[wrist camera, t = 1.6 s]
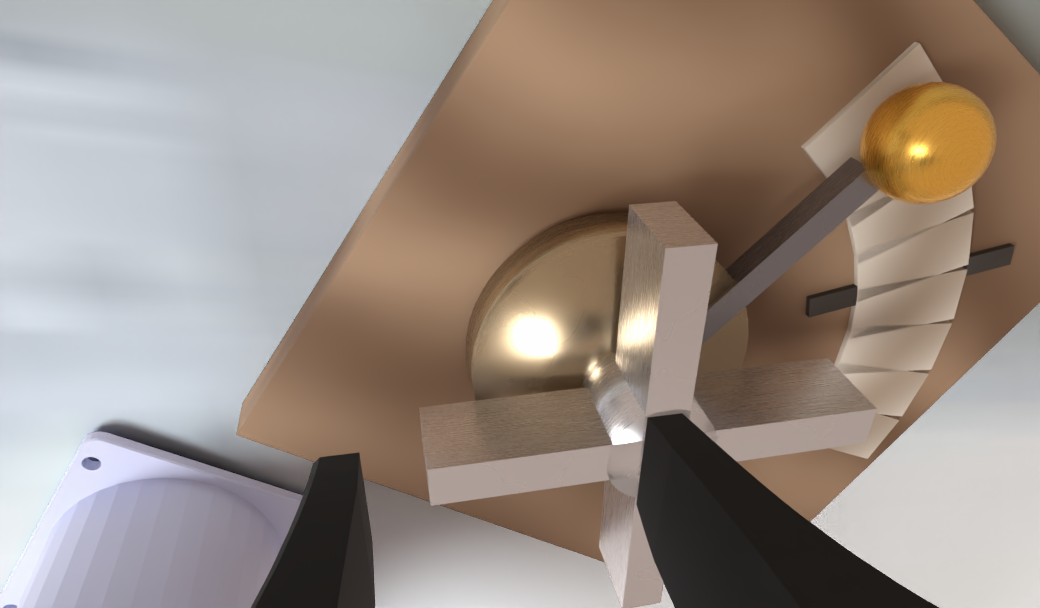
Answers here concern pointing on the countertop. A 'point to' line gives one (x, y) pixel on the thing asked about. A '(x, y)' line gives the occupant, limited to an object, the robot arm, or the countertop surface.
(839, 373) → the capstan
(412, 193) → the lever board
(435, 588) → the countertop surface
